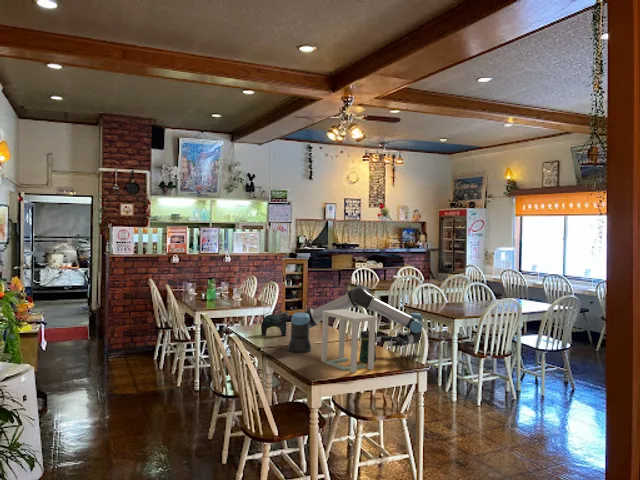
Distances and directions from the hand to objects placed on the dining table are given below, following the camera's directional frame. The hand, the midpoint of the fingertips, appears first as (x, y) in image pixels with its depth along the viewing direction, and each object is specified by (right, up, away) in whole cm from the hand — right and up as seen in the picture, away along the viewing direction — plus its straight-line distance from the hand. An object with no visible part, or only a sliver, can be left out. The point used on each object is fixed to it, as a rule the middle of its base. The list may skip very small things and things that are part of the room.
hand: (380, 342), depth 313 cm
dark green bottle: (-8, -11, -6) cm, 15 cm away
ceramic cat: (-70, -7, +61) cm, 93 cm away
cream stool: (-21, -10, -15) cm, 28 cm away
